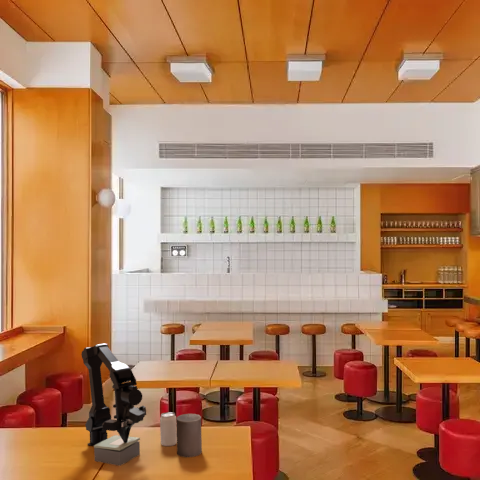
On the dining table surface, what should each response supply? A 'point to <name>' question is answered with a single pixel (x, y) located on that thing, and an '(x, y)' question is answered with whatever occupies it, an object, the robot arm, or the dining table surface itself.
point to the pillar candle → (189, 435)
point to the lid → (116, 443)
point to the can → (168, 429)
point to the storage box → (117, 454)
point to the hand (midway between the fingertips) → (125, 442)
